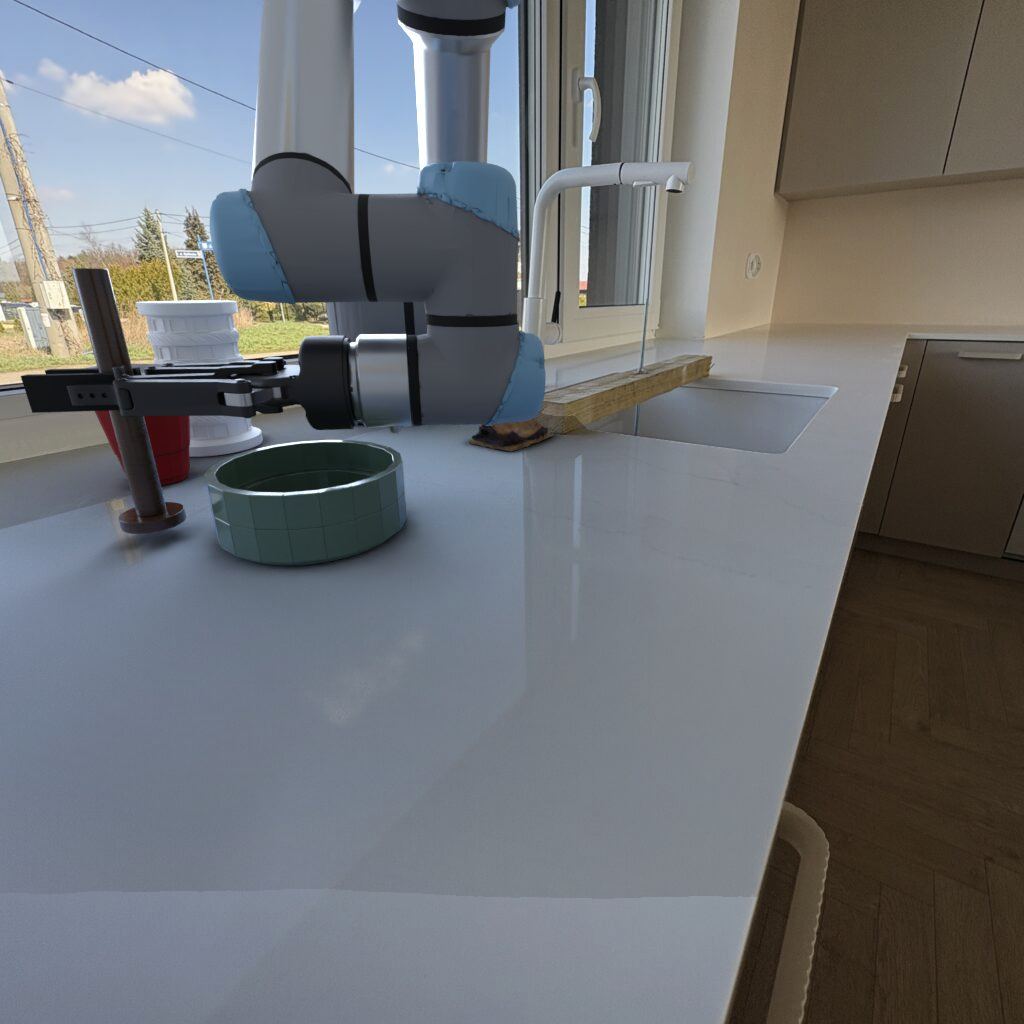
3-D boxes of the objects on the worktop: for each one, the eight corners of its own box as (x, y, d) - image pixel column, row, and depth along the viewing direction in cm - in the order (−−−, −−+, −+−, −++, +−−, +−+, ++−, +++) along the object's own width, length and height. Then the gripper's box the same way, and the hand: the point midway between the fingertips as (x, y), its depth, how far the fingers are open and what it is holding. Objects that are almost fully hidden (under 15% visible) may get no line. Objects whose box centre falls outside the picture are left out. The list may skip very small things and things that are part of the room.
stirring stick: (159, 509, 51) (99, 269, 44) (199, 516, 50) (143, 269, 42) (107, 529, 47) (31, 268, 40) (149, 537, 46) (78, 267, 38)
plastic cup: (167, 499, 57) (138, 377, 52) (77, 491, 59) (41, 374, 54) (237, 467, 67) (217, 362, 62) (157, 461, 69) (133, 360, 64)
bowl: (305, 490, 59) (297, 434, 57) (437, 510, 54) (434, 449, 52) (175, 550, 46) (157, 480, 44) (334, 585, 41) (323, 507, 38)
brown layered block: (511, 428, 85) (511, 404, 84) (558, 437, 80) (559, 411, 79) (463, 442, 77) (462, 415, 76) (512, 453, 72) (512, 424, 71)
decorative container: (218, 431, 83) (192, 299, 76) (281, 438, 79) (260, 300, 72) (146, 451, 73) (108, 302, 66) (213, 460, 69) (181, 303, 62)
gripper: (351, 451, 41) (-11, 466, 38) (368, 409, 55) (104, 417, 52) (340, 344, 38) (-53, 350, 35) (360, 328, 52) (81, 331, 49)
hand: (42, 390), depth 43 cm, fingers closed on stirring stick, 2 cm apart
